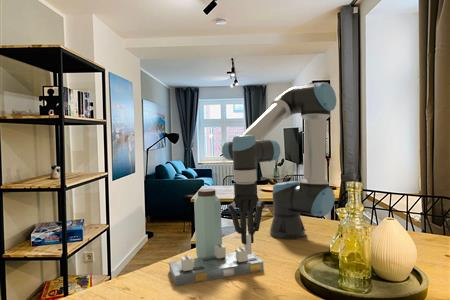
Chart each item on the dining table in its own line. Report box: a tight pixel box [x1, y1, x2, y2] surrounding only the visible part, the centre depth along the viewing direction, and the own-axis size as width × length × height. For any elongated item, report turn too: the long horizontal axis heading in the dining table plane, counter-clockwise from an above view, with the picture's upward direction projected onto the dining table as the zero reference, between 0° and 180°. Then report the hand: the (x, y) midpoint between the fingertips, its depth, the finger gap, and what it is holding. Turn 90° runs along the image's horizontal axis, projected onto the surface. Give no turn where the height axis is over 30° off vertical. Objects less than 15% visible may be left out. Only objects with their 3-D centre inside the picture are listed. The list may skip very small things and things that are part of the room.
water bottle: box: [193, 188, 223, 258], centre depth 124 cm, size 10×10×25 cm
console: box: [168, 251, 265, 287], centre depth 112 cm, size 29×12×3 cm, turn 107°
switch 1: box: [180, 254, 193, 271], centre depth 106 cm, size 3×3×4 cm
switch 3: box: [235, 246, 248, 262], centre depth 111 cm, size 3×3×4 cm
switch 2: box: [215, 243, 227, 258], centre depth 115 cm, size 3×3×4 cm
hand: (248, 253), depth 112 cm, fingers closed
